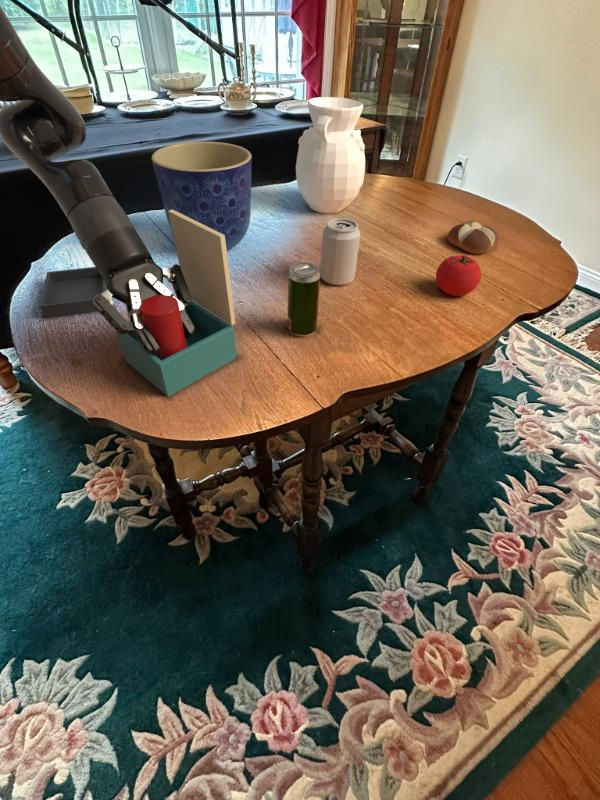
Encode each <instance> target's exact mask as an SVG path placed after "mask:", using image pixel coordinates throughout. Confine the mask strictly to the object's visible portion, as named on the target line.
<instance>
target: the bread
mask: <svg viewBox="0 0 600 800" xmlns="http://www.w3.org/2000/svg"><path fill="white" fill-rule="evenodd" d="M446 238H447V240H448V242H449V243H450V244H451V245H453V246H455V247H457V248H459V249H461V250H462V251H466V252H468V253H469V254H475V255H481V254H485V253H487V252H489V251H491V250H493V248H494V247H496V246H497V244H498V242H499V236H498V233H497V232H496V230H495V229H494V228H492V227H491V226H489V225H483V226H482V225H481V223H479V222H477V221H475V220H471V221H465V222H463V223H460V224H457V225H455V226H453V227H452V228H451V229H450V230H449V231H448V233H447V237H446Z"/></svg>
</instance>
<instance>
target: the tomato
mask: <svg viewBox="0 0 600 800" xmlns="http://www.w3.org/2000/svg"><path fill="white" fill-rule="evenodd" d="M481 278H482V271H481V266H480V265H479V263H478V261H477V260H475V259H474V258H472V257H469V256H468V255H467V254H466V255H463V254H461V255H460V254H459V255H458V254H457V255H450V256H448V257H447V258H445V259H443V261H441V263H440V264H439V266H438V267H437V269H436V272H435V281H436V284H437V286H438V288H439V289H440V290H441V291H442V292H443V293H445V294H447V295H449V296H454V297H458V296H460V297H461V296H465V295H468V294H471V293H472V292H473V291H474V290H476V289H477V287H478V286H479V284H480V283H481Z"/></svg>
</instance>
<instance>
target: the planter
mask: <svg viewBox="0 0 600 800" xmlns="http://www.w3.org/2000/svg"><path fill="white" fill-rule="evenodd" d="M252 159H253V157H252V153H251V152H250V151H249V150H248V149H246V148H244V147H243V146H239V145H236V144H232V143H228V142H227V143H226V142H221V141H220V142H219V141H189V142H180V143H174V144H170V145H167V146H164V147H160V148H159V149H157V150H155V151H154V153H152V155H151V162H152V166H153V170H154V174H155V178H156V182H157V185H158V190H159V193H160V197H161V202H162V205H163V208H164V212H165V216H166V220H167V222H168V225H169V227H170V230H171V231H172V227H171V223H170V218H169V213H168V211H169V210H175V211H177V212H179V213H181V214H183V215H185V216H187V217H189V218H191V219H193V220H195V221H197V222H199V223H201V224H203V225H205V226H207V227H209V228H211V229H213V230H215V231H217V232H219V233H221V234H223V235H225V242H226V250H229V249H231V248H233V247H235V246H237V245H238V244H239V243H240V242H241V241H242V240H243V239H244V238H245V236H247V235H246V234H247V233H248V230H249V226H250V222H251V215H252V214H251V213H252V207H251V206H252V161H253V160H252Z"/></svg>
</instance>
